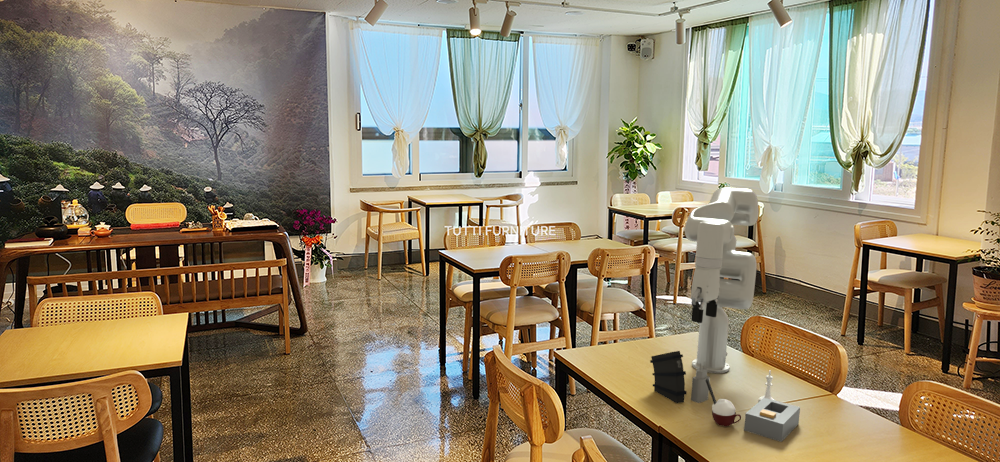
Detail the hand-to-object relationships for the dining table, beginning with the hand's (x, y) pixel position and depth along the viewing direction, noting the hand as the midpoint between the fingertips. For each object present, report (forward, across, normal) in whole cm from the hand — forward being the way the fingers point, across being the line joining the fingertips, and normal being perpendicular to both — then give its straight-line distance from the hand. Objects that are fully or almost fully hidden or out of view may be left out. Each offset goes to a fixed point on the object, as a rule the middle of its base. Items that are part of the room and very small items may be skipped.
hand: (704, 319), depth 201 cm
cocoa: (+26, +11, +12) cm, 31 cm away
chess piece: (+25, -14, +16) cm, 33 cm away
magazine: (+26, +4, -9) cm, 27 cm away
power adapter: (+26, -1, 0) cm, 26 cm away
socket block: (+26, +3, +23) cm, 35 cm away
